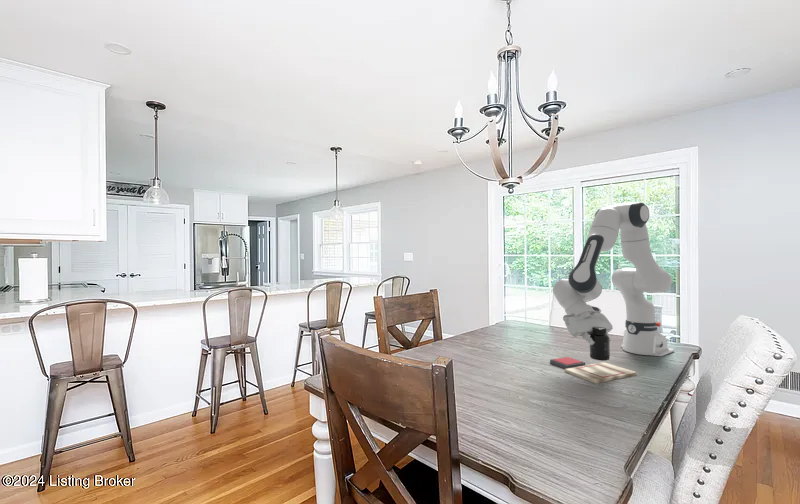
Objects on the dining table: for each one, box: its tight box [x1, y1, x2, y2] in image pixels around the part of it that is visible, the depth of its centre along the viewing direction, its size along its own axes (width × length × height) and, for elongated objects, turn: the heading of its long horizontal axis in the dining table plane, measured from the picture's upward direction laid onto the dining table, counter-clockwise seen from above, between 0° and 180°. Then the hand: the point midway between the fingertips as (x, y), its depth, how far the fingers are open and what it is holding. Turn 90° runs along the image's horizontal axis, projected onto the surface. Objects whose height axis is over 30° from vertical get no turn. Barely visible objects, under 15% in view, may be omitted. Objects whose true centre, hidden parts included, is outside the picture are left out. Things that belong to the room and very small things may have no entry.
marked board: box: [564, 361, 638, 384], centre depth 143 cm, size 22×14×1 cm, turn 113°
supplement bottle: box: [589, 327, 611, 362], centre depth 143 cm, size 7×7×12 cm
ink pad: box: [549, 356, 586, 370], centre depth 154 cm, size 10×9×2 cm
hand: (601, 343), depth 143 cm, fingers closed on supplement bottle, 7 cm apart
